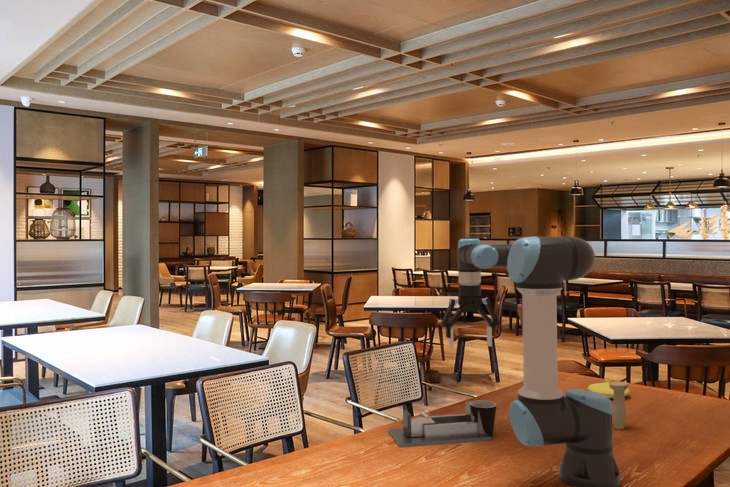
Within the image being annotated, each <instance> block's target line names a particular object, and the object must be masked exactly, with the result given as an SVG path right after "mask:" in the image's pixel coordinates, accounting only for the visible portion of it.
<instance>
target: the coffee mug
mask: <svg viewBox="0 0 730 487" xmlns="http://www.w3.org/2000/svg"><path fill="white" fill-rule="evenodd" d="M471 401H472V402H470V409H471V418H472V422H473V421H474V422H477V421H478V411H479V413H480V418H481V422H482V427H483V429H484V432H485V433H486V434H487V435H490V436H491V438H492V437H493V436H494V428H495V423H496V421H495V420H496V413H497V405H498V404H497V403H496V402H493V401H489V400H483V399H482V400H480V399H479V400H471ZM473 405H480V406H482V407H476V406H473Z"/></svg>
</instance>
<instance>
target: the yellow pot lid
mask: <svg viewBox="0 0 730 487" xmlns="http://www.w3.org/2000/svg"><path fill="white" fill-rule="evenodd" d="M610 383H612V378H605V379H604V382H598V383H592V384H589V385H588V386H587V391H592V392H596V393H600V394H603V395H605V396H607V397H608V398H609V399H614V390H613V389H611V388H610V386H609V384H610ZM630 391H631V390H630V389H629V387H628V388H627V389H626V390H625V391H624V396H625V397H627V396H628V395H629V394H630Z"/></svg>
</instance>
